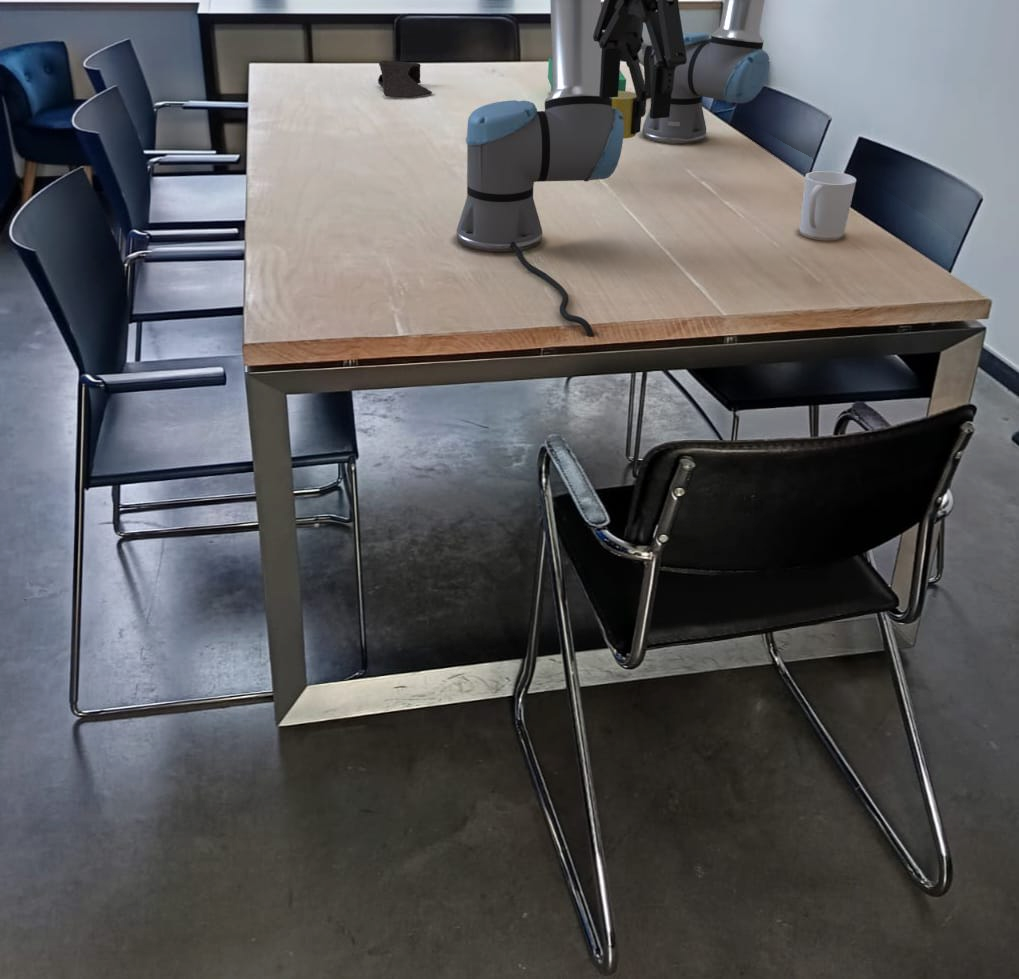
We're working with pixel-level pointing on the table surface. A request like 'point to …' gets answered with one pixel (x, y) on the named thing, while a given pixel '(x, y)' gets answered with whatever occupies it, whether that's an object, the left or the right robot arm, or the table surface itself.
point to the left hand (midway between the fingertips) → (633, 107)
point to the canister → (625, 109)
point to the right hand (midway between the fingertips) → (617, 129)
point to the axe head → (401, 79)
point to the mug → (826, 204)
